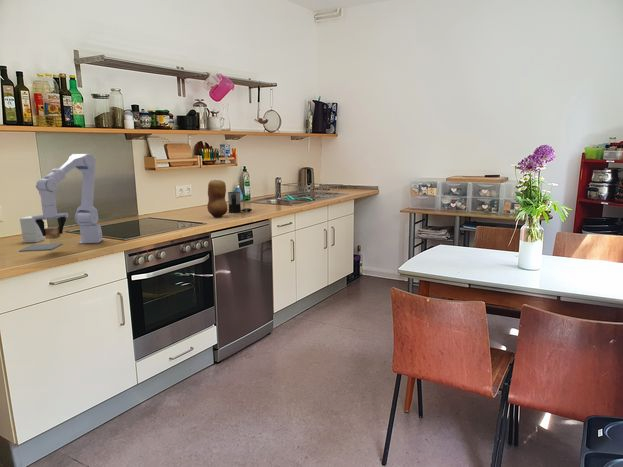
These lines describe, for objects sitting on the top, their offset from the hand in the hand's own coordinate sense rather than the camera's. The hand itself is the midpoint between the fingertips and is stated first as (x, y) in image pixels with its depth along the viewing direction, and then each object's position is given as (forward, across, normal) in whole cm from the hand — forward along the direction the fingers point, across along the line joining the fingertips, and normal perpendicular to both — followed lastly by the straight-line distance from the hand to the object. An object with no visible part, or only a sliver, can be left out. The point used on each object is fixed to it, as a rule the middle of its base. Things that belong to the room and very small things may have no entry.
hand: (52, 234), depth 209 cm
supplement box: (+8, 0, -36) cm, 37 cm away
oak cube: (+1, 0, 0) cm, 1 cm away
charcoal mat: (+8, +2, -14) cm, 16 cm away
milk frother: (+8, -133, -41) cm, 139 cm away
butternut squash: (+8, -109, -34) cm, 114 cm away
